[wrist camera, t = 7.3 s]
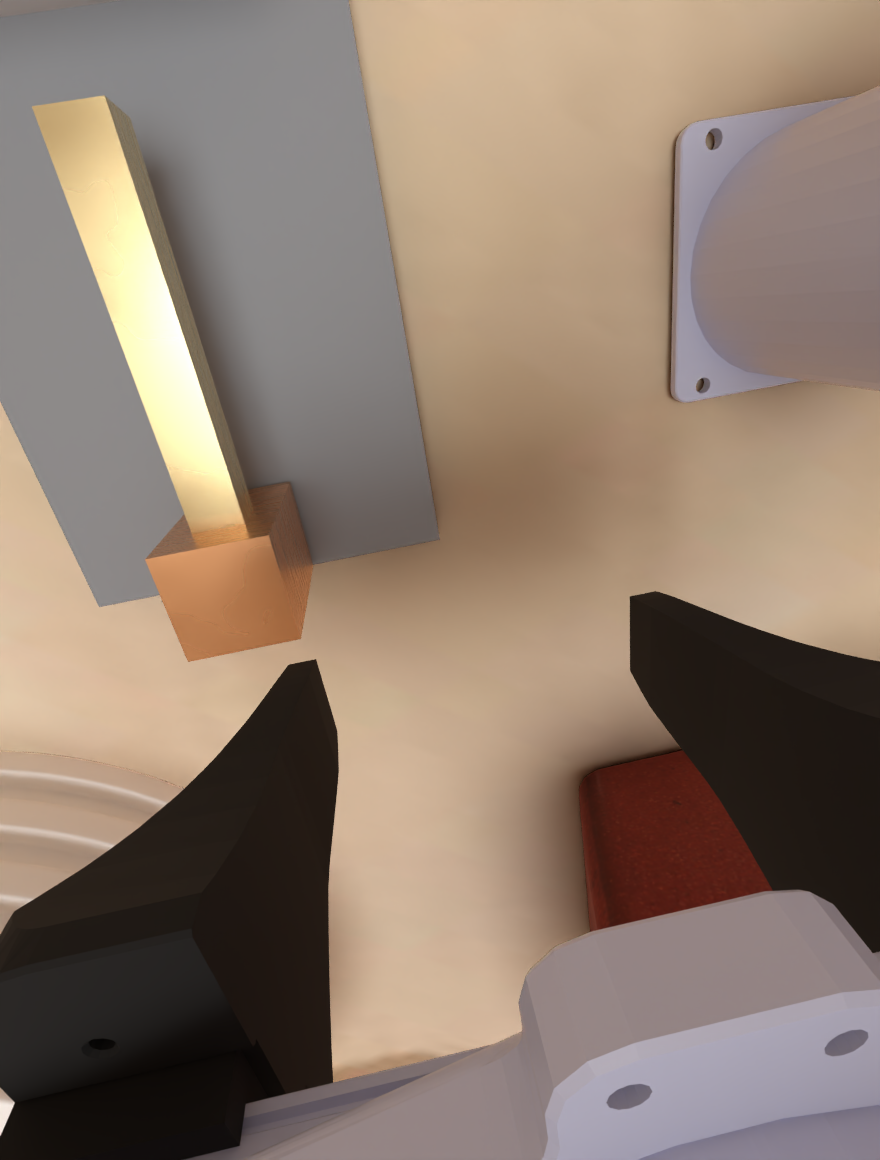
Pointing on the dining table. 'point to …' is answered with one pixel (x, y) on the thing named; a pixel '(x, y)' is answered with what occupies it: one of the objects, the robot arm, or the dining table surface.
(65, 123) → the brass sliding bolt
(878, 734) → the robot arm
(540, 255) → the dining table surface
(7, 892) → the plate stack
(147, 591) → the block
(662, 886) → the plant pot
